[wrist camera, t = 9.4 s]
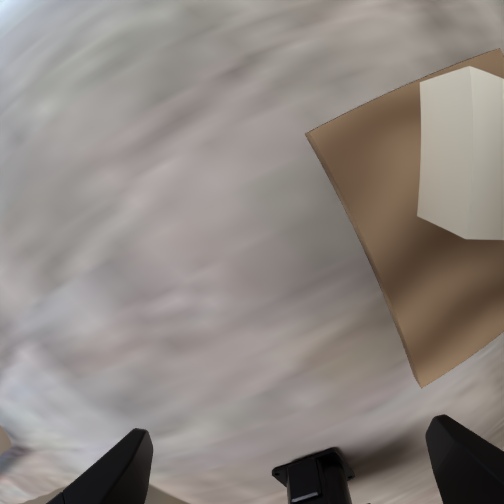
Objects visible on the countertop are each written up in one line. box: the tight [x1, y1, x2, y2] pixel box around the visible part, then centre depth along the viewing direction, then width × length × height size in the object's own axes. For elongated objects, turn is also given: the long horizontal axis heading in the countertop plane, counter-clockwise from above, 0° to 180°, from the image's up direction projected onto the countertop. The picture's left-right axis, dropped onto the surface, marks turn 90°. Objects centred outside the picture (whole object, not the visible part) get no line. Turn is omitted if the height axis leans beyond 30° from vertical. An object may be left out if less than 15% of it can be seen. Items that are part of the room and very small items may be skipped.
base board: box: [305, 48, 504, 388], centre depth 18 cm, size 20×16×2 cm
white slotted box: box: [417, 66, 504, 240], centre depth 13 cm, size 6×8×5 cm
